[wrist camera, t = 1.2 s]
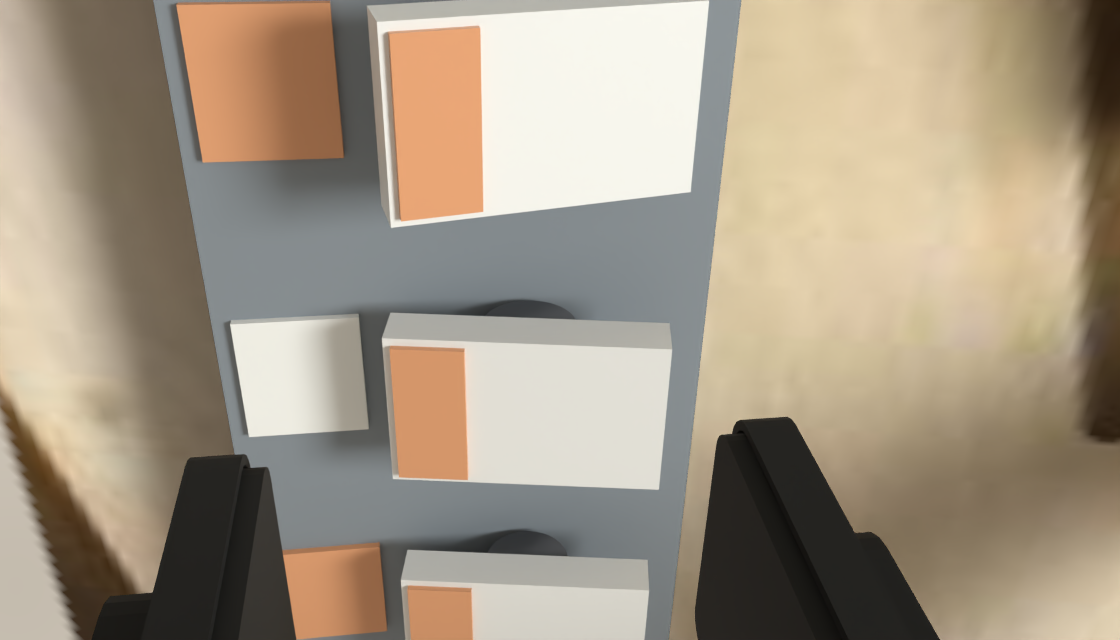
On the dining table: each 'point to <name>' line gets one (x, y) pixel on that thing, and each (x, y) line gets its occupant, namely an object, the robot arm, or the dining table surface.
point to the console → (405, 304)
